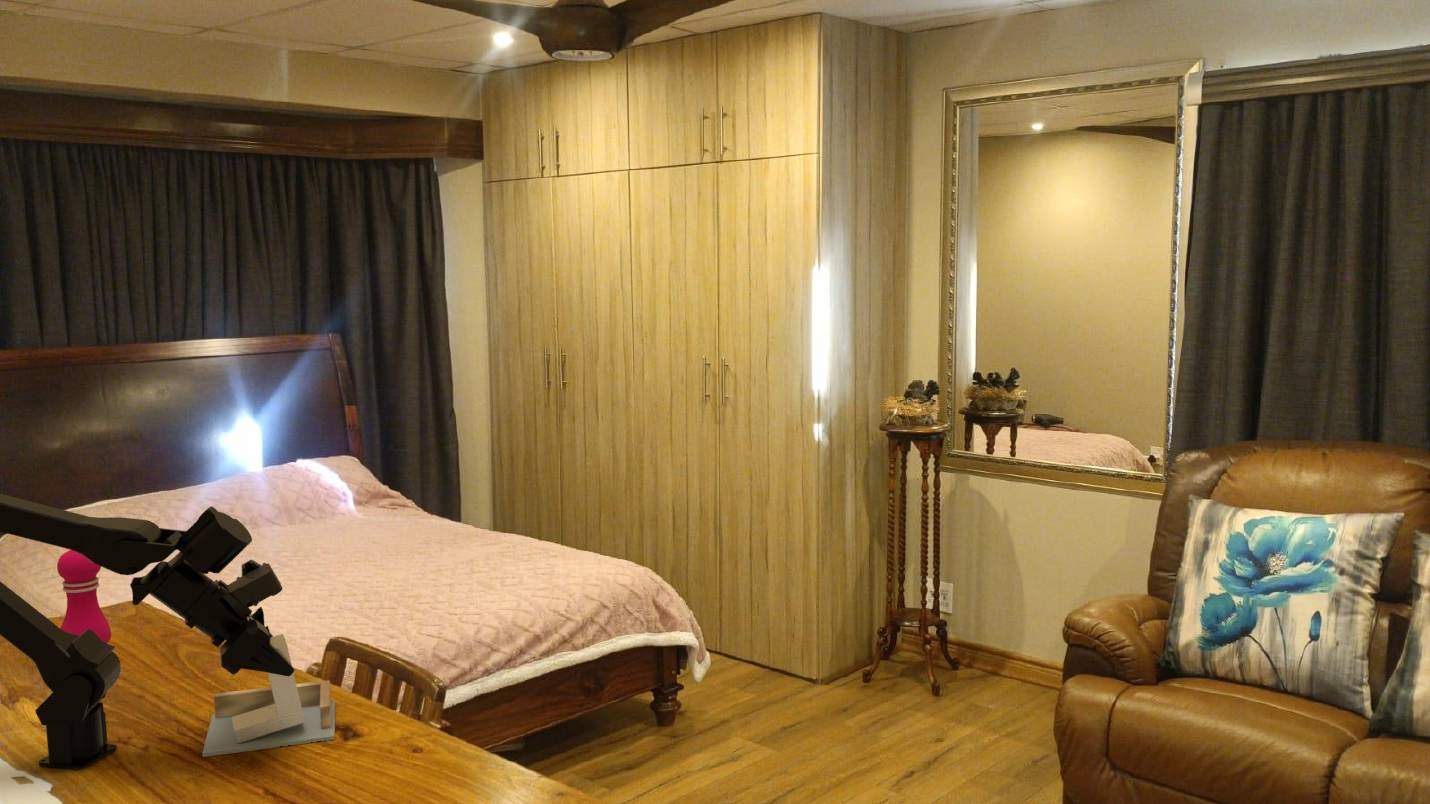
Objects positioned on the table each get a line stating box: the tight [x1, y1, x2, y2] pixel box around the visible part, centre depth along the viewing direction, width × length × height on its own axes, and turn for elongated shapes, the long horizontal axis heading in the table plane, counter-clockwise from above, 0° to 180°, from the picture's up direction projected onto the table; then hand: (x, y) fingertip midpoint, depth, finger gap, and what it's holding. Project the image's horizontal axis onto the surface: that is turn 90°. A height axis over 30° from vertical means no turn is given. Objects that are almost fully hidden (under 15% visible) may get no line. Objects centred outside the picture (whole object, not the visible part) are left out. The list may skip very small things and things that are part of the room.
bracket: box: [232, 633, 305, 744], centre depth 153 cm, size 8×5×11 cm, turn 116°
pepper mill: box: [56, 549, 112, 644], centre depth 181 cm, size 7×7×20 cm
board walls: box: [213, 680, 332, 729], centre depth 158 cm, size 15×10×4 cm, turn 108°
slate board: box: [201, 699, 336, 758], centre depth 156 cm, size 16×13×1 cm
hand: (290, 666), depth 155 cm, fingers closed on bracket, 5 cm apart
